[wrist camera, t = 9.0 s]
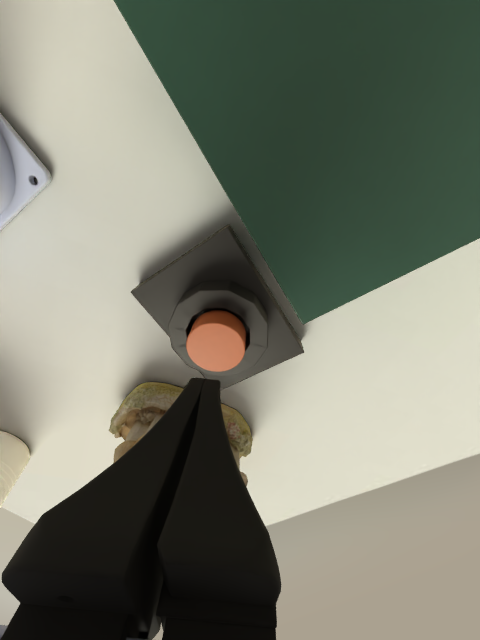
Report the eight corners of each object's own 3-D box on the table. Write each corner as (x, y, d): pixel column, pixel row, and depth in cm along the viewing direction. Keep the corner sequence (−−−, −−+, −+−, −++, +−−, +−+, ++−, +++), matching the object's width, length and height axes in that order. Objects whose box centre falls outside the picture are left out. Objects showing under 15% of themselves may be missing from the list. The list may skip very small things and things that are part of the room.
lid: (596, 170, 9) (622, 168, 8) (300, 318, 12) (302, 325, 11) (576, -881, 3) (650, -1122, 3) (53, -107, 7) (32, -139, 6)
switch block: (219, 380, 22) (214, 408, 19) (138, 285, 18) (117, 302, 16) (301, 342, 20) (309, 367, 17) (229, 223, 16) (224, 231, 13)
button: (212, 363, 18) (208, 380, 16) (181, 325, 17) (173, 340, 15) (255, 341, 17) (256, 357, 15) (226, 299, 16) (223, 312, 14)
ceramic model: (276, 431, 25) (289, 564, 16) (214, 480, 30) (197, 606, 21) (151, 360, 22) (80, 480, 13) (102, 428, 26) (24, 552, 17)
